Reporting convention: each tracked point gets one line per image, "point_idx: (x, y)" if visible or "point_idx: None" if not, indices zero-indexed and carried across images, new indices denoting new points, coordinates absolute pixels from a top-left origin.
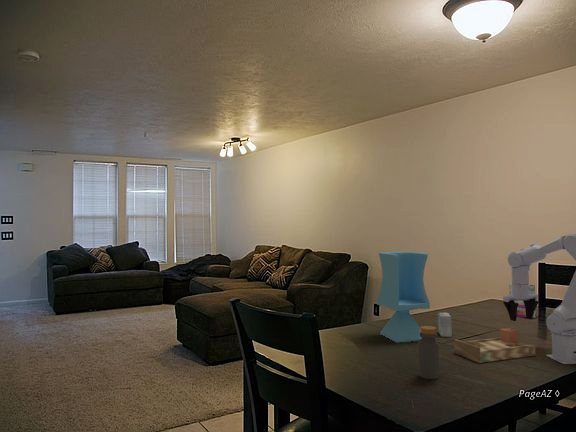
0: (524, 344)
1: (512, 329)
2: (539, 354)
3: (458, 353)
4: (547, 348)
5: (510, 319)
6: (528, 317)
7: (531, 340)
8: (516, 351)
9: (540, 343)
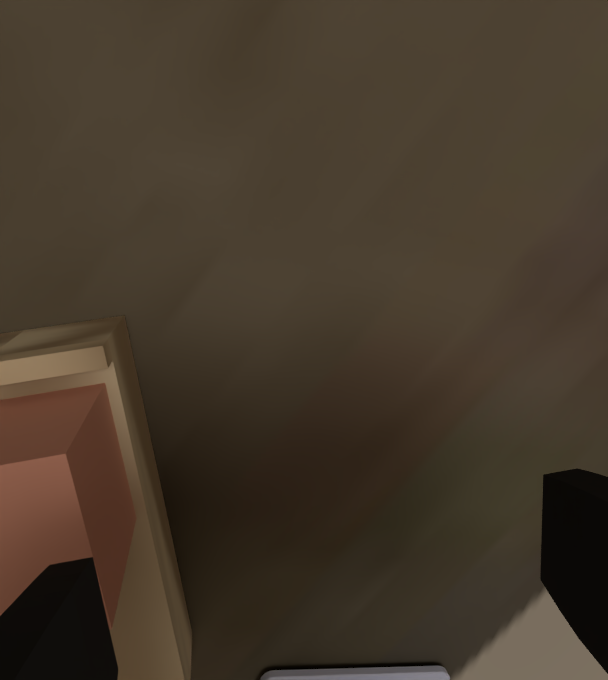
0: (138, 616)
1: (64, 549)
2: (252, 608)
3: None
4: (472, 452)
5: (40, 578)
6: (562, 545)
7: (573, 140)
8: None
9: (558, 278)
